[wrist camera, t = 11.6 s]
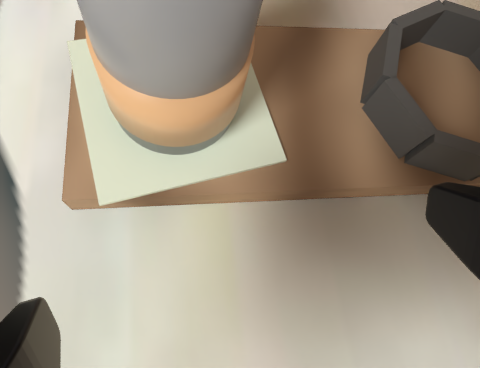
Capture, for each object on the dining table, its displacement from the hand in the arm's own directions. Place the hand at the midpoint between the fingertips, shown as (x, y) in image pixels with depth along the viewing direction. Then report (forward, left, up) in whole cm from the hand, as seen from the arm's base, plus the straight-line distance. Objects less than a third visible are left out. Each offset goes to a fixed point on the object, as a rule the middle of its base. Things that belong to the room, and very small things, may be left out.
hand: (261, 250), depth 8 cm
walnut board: (+10, +2, -10) cm, 14 cm away
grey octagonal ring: (+15, -4, -8) cm, 18 cm away
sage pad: (+5, +7, -8) cm, 12 cm away
